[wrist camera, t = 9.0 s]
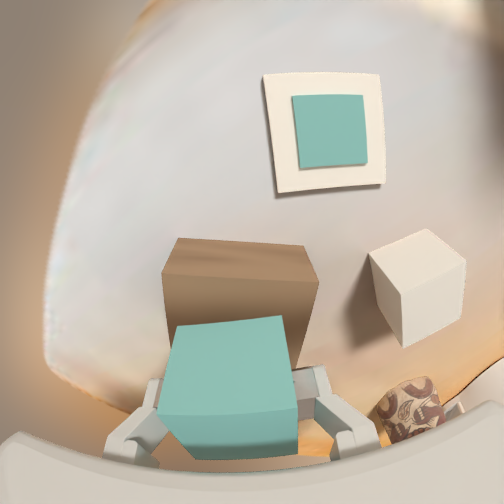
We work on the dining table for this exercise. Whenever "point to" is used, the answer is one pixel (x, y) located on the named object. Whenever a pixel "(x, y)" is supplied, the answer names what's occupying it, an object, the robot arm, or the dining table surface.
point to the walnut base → (239, 286)
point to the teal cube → (231, 390)
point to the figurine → (410, 409)
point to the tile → (326, 129)
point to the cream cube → (418, 285)
